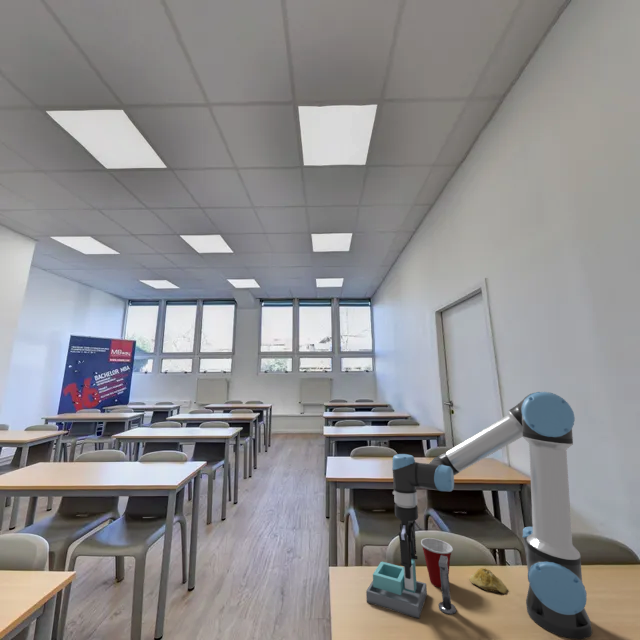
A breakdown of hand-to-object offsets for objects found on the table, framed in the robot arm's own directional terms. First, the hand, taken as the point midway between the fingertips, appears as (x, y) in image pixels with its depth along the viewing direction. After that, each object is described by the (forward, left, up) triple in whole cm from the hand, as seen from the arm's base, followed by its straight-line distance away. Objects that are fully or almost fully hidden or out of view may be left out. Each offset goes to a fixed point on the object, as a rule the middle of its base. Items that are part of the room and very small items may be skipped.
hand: (410, 585), depth 98 cm
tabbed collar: (+5, 0, -1) cm, 5 cm away
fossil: (-21, -22, -5) cm, 31 cm away
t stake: (-10, -2, -5) cm, 11 cm away
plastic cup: (-6, -15, -5) cm, 17 cm away
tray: (+5, 0, -5) cm, 6 cm away
